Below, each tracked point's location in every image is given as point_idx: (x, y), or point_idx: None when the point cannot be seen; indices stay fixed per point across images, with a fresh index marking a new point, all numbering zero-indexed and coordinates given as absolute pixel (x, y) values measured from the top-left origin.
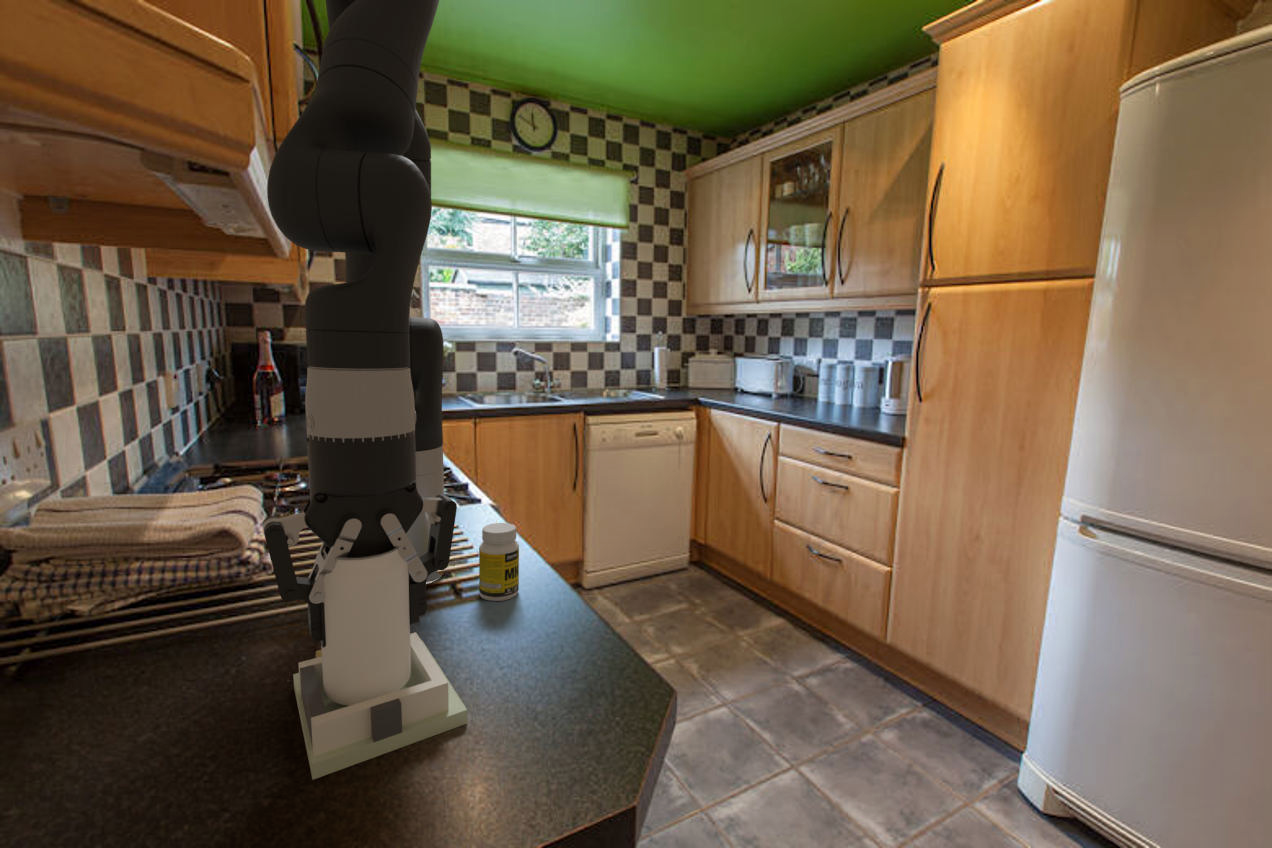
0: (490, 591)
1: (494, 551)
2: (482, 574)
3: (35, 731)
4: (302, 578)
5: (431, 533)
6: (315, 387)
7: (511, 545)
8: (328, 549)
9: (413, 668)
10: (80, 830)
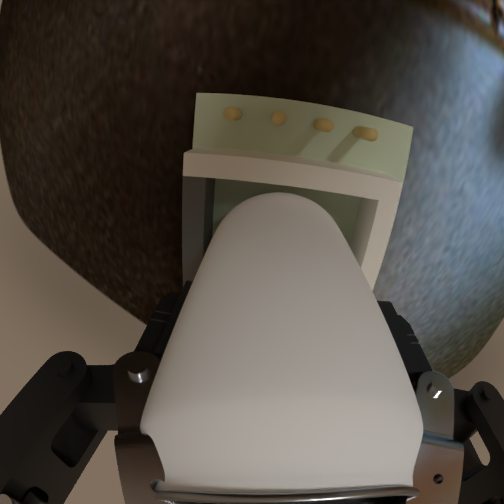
0: None
1: None
2: None
3: (3, 71)
4: (100, 406)
5: (491, 467)
6: None
7: None
8: (155, 486)
9: (358, 224)
10: (45, 240)
